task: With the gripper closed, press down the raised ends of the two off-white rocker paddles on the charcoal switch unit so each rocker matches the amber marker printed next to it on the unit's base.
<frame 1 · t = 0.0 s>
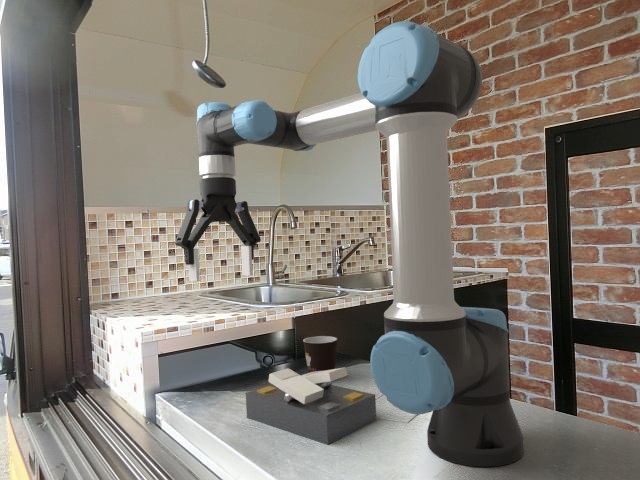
hand: (222, 278, 105), 28 cm above the table, fingers open, 13 cm apart
rocker left: (295, 385, 95), point 8 cm above the table, hinge at -15.0°
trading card: (400, 406, 105), on the table
switch unit: (310, 419, 98), on the table
coffee mug: (322, 378, 127), on the table
rocker right: (320, 376, 100), point 8 cm above the table, hinge at 15.0°
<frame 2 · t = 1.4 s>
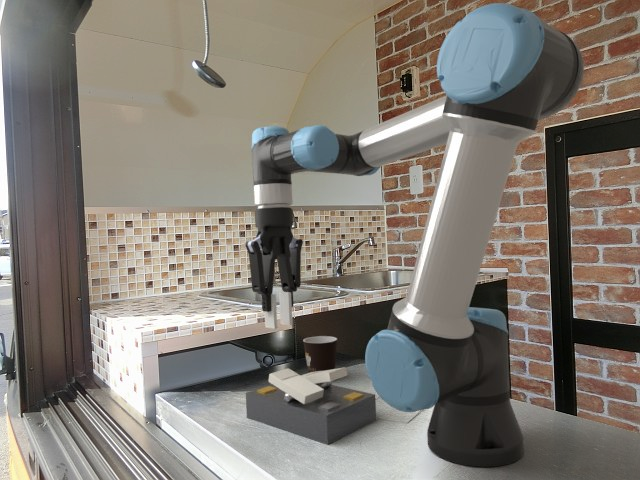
hand: (278, 325, 98), 19 cm above the table, fingers open, 3 cm apart
nothing on the table moved.
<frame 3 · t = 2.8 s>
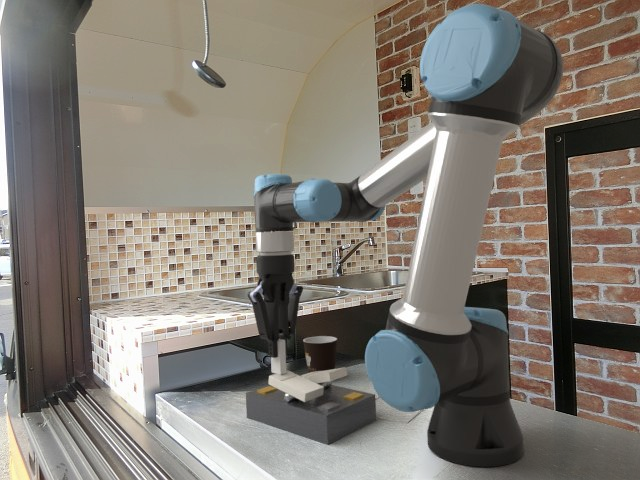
hand: (278, 372, 98), 9 cm above the table, fingers closed
rocker left: (295, 385, 95), point 8 cm above the table, hinge at -9.4°, touching gripper
everything else where it was.
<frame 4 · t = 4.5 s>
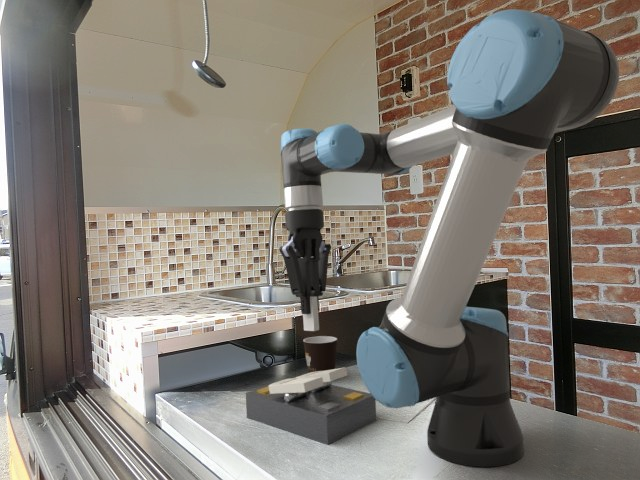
hand: (311, 330, 97), 18 cm above the table, fingers closed
rocker left: (295, 385, 95), point 8 cm above the table, hinge at 11.7°
everything else where it was.
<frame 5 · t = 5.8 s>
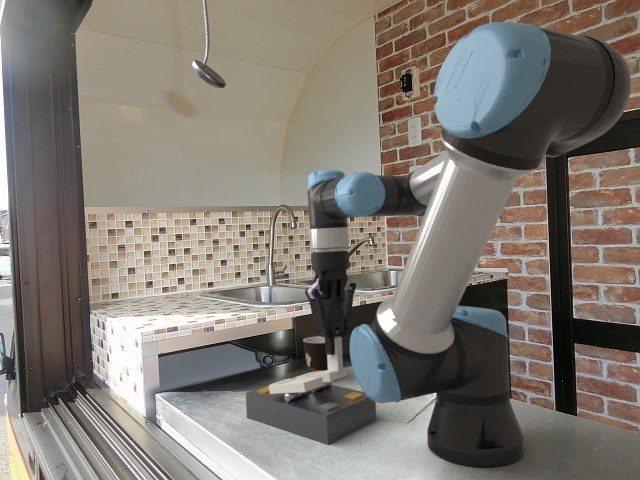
hand: (335, 370, 97), 9 cm above the table, fingers closed
rocker left: (295, 385, 95), point 8 cm above the table, hinge at 12.1°
rocker right: (320, 376, 100), point 8 cm above the table, hinge at 14.3°, touching gripper
everything else where it was.
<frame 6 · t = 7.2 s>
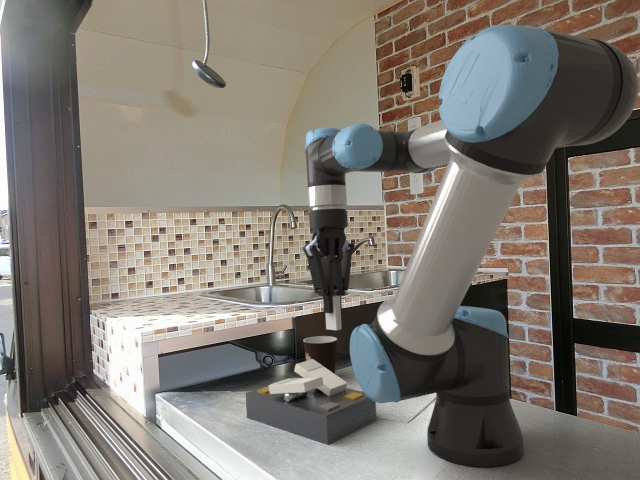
hand: (333, 329, 97), 18 cm above the table, fingers closed
rocker right: (320, 376, 100), point 8 cm above the table, hinge at -20.6°, touching switch unit
everything else where it was.
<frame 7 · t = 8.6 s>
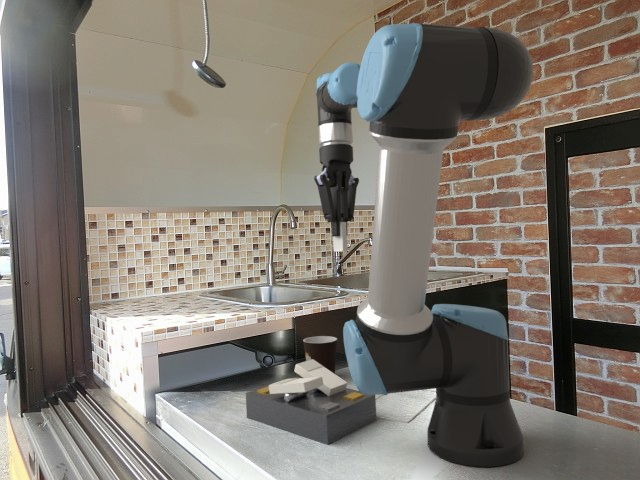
hand: (340, 251, 111), 32 cm above the table, fingers closed
rocker right: (320, 376, 100), point 8 cm above the table, hinge at -20.2°
everything else where it was.
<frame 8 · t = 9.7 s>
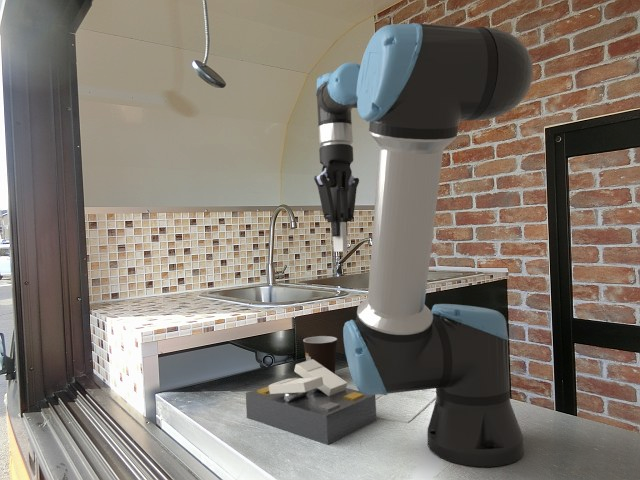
hand: (340, 251, 111), 32 cm above the table, fingers closed
nothing on the table moved.
at the end: rocker left at +12° (first picture: -15°); rocker right at -20° (first picture: +15°); rocker left touching nothing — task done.
